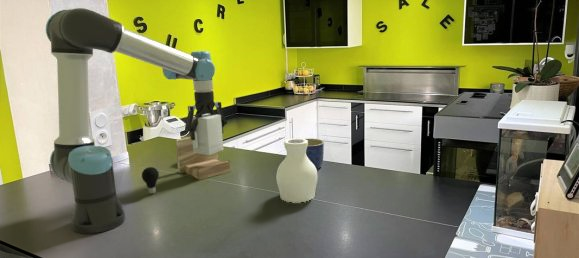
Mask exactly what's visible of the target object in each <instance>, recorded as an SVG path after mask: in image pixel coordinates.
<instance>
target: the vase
mask: <svg viewBox="0 0 579 258" xmlns="http://www.w3.org/2000/svg"><path fill="white" fill-rule="evenodd" d="M306 139H307V138H297V137H296V138H289V139H286V140H284V141H283V145H284V149H285V151H286V155H285V158H284V159H283V160H282V162H281V163H280V164H279V166H277V170H276V175H275V176H276V177H275V178H276V183H277V187H278V191H279V195H280V196H279V198H280V200H282V201H283V200H284V201H283V202H285V201H286V202H285V203H289V202H292V203H291V204H302V203H301V202H304V203H307V202H306V201H308V202H310V201H309V200H311V199H313V198H314V197H315V195H316V194H315V193H316V188H317V184H318V169H316V167H315V166H314V164H313V163H312V162H311V161H310V160H309V159H308V157H307V155H306V149H307V146H308V140H306ZM314 199H315V198H314ZM314 199H313V200H314ZM311 201H312V200H311Z"/></svg>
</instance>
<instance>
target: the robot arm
mask: <svg viewBox="0 0 579 258" xmlns="http://www.w3.org/2000/svg"><path fill="white" fill-rule="evenodd" d="M45 34H46V37H47V39H48V40H49V42H50V47H51V48H50V53H51V55H53V57H55V59H56V62H57V63H56V64H57V65H56V67H57V68H56V69H57V71H56V73H57V98H58V99H57V102H58V103H57V106H58V134H59V135H58V136H57V138H55V139H54V141H53V149H54V150H53V151H52V152H51V155H50V159H49V164H50V167H51V170H52V171H53V173H54V174H55V175H56V176H57V178H58V177H59V178H60V179H61V180H64V181H66V182H68V183H69V184H70V185H71V186H72V190H73V197H74V208H73V212H72V217H71V221H70V222H71V229H72V230H73V232H75V233H78V234H97V233H103V232H107V231H110V230H112V229H115V228H117V227H118V226H121V225H122V224H123V223H124V222H125V220H126V213H125V209H124V208H123V206H122V203H121V202H120V200H119V198H118V196H117V189H116V182H115V172H114V160H113V157H112V154H111V151H110V150H109V149H108V148H107V147H105V146H100V145H95V139H94V138H93V137H92V136H91V135H90V108H89V105H90V104H89V101H90V100H89V60H90V59H91V58H92V57H94V50H99V51H103V52H106V53H109V54H114V53H115V52H116V53H119V54H122V55H125V56H127V57H129V58H130V57H131V58H133V59H136V60H138V61H141V62H143V63H147V64H151V65H153V66H156V67H159V68H162V69H161V70H162V73H163V76H164V77H165V79H167V80H175V81H176V80H180V79H182V80H190V81H191V80H192V83H193V91H194V94H193V95H194V102H195V103H194V105H188V106H187V116H186V121H185V127H184V130H185V131H187V132H189V134H190V136H189V137H191V140H193V147H195V148H198V140H197V132H195V130H196V127H197V125H198V118H200V117H202V115H204V114H211V115H221V125H222V135H223V134H224V127H225V125H227V124H228V122H227V119H226V116H225V114H224V110H223V107H222V102H221V101H216V102H215V101H214V100H215V97H214V94H215V93H214V91H213V90H214V84H213V78H214V76H215V73H216V67H215V64H214V62H212V57H211V53H210V51H208V50H197V51H191V52H190V54H189V53H187V52H185V51H182V50H179V49H176V48H174V47H172V46H169V45H167V44H165V43H162V42H159V41H157V40H155V39H152V38H150V37H147V36H144V35H142V34H140V33H137V32H135V31H133V30H130V29H127V28H124V25H123V23H121V22H119V21H116V20H114V19H112V18H110V17H108V16H105V15H103V14H100V13H98V12H96V11H93V10H90V9H88V8H82V7H77V8H71V9H62V10H58V11H56V12H55V13H53V14H52V15H51V16H50V17H49V18H48V19H47V21H46V24H45ZM214 108H215V109H216V111H215V110H214ZM195 110H196V112H195ZM194 114H195V115H194ZM193 116H195V117H196V119H195V120H193ZM192 120H193V122H192Z"/></svg>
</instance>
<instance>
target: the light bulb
mask: <svg viewBox="0 0 579 258" xmlns="http://www.w3.org/2000/svg"><path fill="white" fill-rule="evenodd" d="M159 176H160V173H159V171H158V170H157V168H155V167H152V166H148V167H146V168H145V169H144V170H142V172H141V179H142V180H143V182H145V184H146V187H147V190H148V191H147V192H148V193H149V194H151V195H153V194H155V192H156V187H157V181H158V180H159Z"/></svg>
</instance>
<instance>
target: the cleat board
mask: <svg viewBox="0 0 579 258" xmlns="http://www.w3.org/2000/svg"><path fill="white" fill-rule="evenodd" d="M175 147H176V149H175V150H176V159H177V170H178V171H177V172H178V173H179V174H183V173H186V174H188V175H190V176H192V177H194V178H196V179H197V180H203V179H208V178H211V177H215V176H218V175H219V176H220V175H224V174H229V173H231V166H230V161H228V160H226V161H221V160H219V152H216V153H214V154H211V155H204V154H198V153H194V151H193V141H192V140H191V137H190V136H188V137H184V138H183V137H182V138H179V139H178V138H176V139H175Z"/></svg>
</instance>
